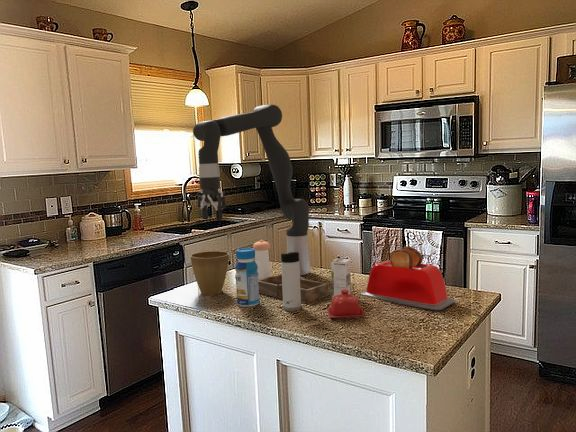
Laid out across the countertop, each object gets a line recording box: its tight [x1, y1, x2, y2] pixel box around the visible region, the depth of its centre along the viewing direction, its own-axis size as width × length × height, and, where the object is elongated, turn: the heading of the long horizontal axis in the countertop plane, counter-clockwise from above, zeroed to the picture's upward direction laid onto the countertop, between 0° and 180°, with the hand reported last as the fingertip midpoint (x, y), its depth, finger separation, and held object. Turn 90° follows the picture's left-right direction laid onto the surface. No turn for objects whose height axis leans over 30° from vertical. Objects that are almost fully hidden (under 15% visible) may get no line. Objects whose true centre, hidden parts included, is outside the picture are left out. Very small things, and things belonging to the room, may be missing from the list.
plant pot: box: [189, 250, 230, 297], centre depth 189 cm, size 15×15×16 cm
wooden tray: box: [258, 273, 332, 305], centre depth 185 cm, size 15×26×5 cm, turn 45°
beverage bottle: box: [234, 247, 260, 308], centre depth 173 cm, size 8×8×20 cm
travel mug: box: [280, 252, 302, 312], centre depth 166 cm, size 6×7×20 cm
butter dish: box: [326, 289, 365, 319], centre depth 158 cm, size 12×12×8 cm
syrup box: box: [330, 258, 352, 299], centre depth 175 cm, size 6×6×14 cm
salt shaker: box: [252, 239, 272, 280], centre depth 199 cm, size 7×7×19 cm
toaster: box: [359, 245, 456, 312], centre depth 172 cm, size 32×13×19 cm, turn 47°
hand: (212, 219), depth 180 cm, fingers open, 8 cm apart
